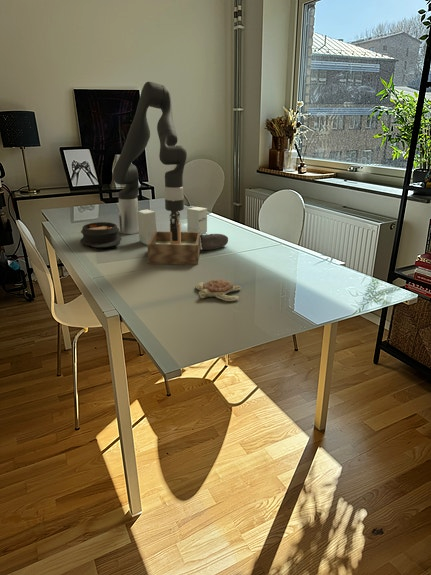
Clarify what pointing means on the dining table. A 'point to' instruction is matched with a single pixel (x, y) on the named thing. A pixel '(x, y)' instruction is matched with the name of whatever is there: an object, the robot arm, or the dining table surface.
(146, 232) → the skincare box
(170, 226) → the terracotta peg
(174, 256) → the walnut box
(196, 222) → the supplement box
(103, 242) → the casserole
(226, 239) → the perforated stone tool
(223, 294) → the decorative turtle
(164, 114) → the robot arm
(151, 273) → the dining table surface
